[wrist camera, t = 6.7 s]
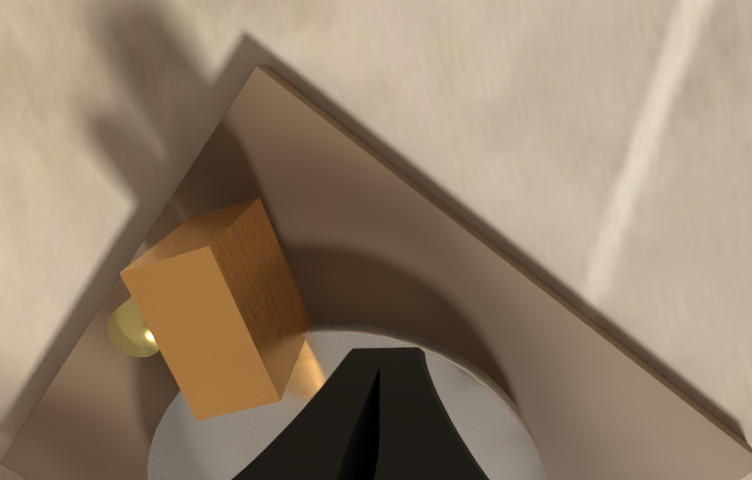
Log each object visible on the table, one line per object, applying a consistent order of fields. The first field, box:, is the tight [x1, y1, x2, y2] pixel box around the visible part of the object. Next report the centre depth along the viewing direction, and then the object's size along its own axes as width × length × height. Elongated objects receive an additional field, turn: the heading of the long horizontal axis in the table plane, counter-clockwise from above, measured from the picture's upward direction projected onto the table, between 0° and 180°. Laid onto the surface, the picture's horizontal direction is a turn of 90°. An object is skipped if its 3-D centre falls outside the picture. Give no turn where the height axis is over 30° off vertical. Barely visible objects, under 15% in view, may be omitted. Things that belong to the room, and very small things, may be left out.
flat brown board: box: [0, 64, 752, 480], centre depth 21 cm, size 20×22×2 cm
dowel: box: [107, 296, 160, 357], centre depth 17 cm, size 2×2×4 cm
